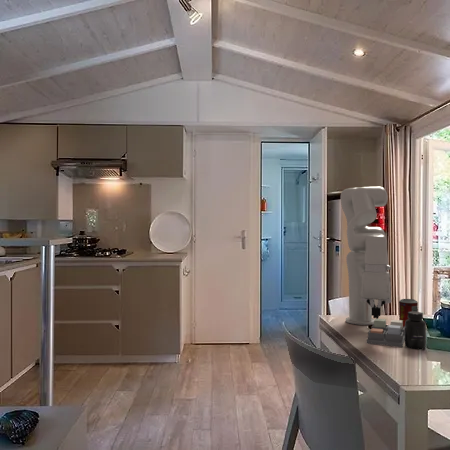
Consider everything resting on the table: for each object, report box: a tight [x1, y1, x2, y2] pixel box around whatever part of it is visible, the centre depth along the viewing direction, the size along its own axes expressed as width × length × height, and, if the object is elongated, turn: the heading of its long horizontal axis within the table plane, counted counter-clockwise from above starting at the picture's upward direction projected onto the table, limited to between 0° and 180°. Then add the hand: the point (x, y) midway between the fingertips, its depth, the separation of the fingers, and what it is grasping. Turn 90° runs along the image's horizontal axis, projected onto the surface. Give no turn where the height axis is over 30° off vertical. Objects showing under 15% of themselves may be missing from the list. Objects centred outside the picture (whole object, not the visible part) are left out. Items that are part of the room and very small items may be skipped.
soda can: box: [398, 298, 419, 326], centre depth 177 cm, size 7×7×12 cm
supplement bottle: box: [404, 311, 427, 350], centre depth 152 cm, size 7×7×12 cm
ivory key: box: [390, 319, 403, 329], centre depth 167 cm, size 4×4×2 cm
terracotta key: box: [371, 327, 383, 334], centre depth 161 cm, size 4×4×2 cm
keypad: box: [366, 324, 405, 348], centre depth 164 cm, size 20×12×3 cm, turn 154°
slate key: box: [388, 324, 401, 335], centre depth 158 cm, size 4×4×2 cm
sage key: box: [374, 318, 387, 328], centre depth 170 cm, size 4×4×2 cm
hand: (376, 317), depth 162 cm, fingers closed
